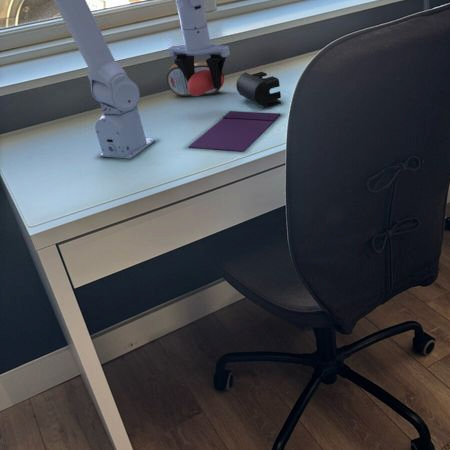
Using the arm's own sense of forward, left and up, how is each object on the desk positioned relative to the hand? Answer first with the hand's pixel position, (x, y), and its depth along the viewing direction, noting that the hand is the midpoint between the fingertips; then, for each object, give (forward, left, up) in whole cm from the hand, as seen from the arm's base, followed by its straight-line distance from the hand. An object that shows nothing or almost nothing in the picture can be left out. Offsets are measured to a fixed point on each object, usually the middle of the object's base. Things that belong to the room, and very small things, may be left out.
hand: (205, 86), depth 131 cm
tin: (+13, +11, -7) cm, 19 cm away
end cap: (+9, -9, -7) cm, 15 cm away
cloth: (-8, -11, -7) cm, 15 cm away
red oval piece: (0, 0, -1) cm, 1 cm away
